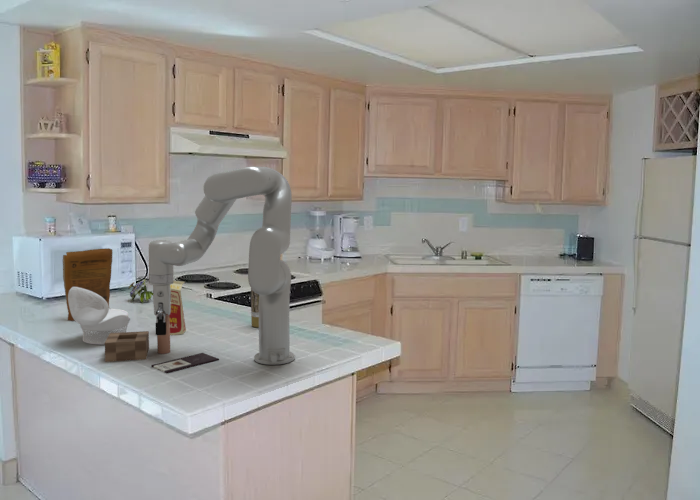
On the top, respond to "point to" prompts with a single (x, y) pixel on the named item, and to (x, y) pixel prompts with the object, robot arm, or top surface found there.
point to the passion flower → (140, 291)
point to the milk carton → (176, 310)
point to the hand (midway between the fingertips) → (161, 330)
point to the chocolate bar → (184, 362)
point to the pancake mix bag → (88, 273)
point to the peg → (164, 339)
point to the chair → (95, 316)
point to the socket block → (127, 346)
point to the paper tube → (254, 309)
